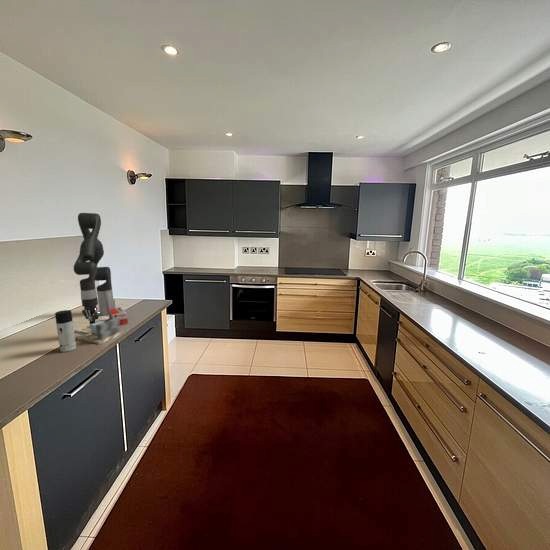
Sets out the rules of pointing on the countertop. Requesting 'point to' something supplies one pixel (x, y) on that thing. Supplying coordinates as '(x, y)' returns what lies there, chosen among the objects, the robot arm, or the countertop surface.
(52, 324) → the countertop surface
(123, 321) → the medicine box
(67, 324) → the spray can
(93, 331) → the gauge slider
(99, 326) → the base
